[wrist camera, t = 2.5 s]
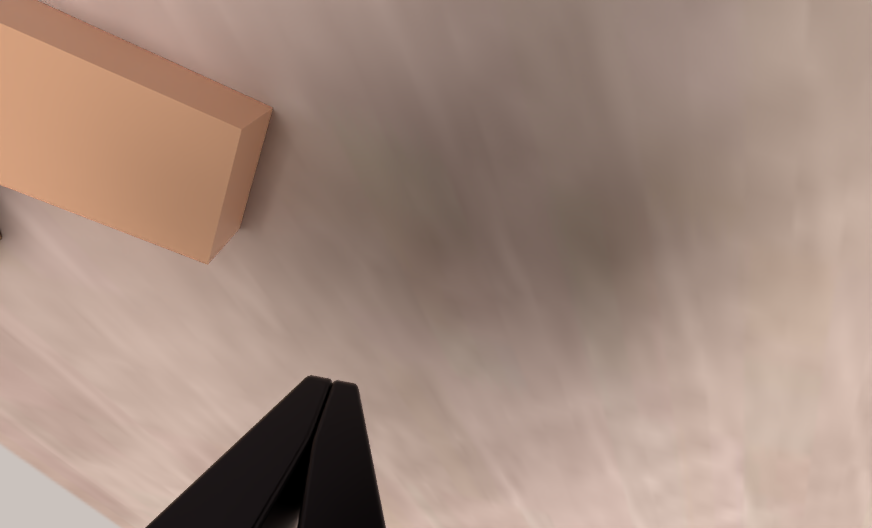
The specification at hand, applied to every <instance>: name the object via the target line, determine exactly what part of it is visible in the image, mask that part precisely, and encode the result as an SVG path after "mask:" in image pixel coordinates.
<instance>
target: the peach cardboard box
mask: <svg viewBox="0 0 872 528" xmlns="http://www.w3.org/2000/svg"><path fill="white" fill-rule="evenodd" d="M272 110H273V108H272V107H270V106H268V105H266V104H264V103H261V102H259V101H257V100H255V99H253V98H250V97H248V96H246V95H244V94H242V93H239V92H237V91H235V90H233V89H231V88H228V87H226V86H224V85H222V84H220V83H217V82H215V81H213V80H211V79H209V78H206V77H204V76H202V75H200V74H198V73H195V72H193V71H191V70H189V69H187V68H185V67H182V66H180V65H178V64H176V63H174V62H171V61H169V60H167V59H165V58H163V57H160V56H158V55H156V54H154V53H152V52H149V51H147V50H145V49H143V48H141V47H138V46H136V45H134V44H132V43H130V42H127V41H125V40H123V39H121V38H119V37H116V36H114V35H112V34H110V33H108V32H105V31H103V30H101V29H99V28H97V27H94V26H92V25H90V24H88V23H86V22H83V21H81V20H79V19H77V18H75V17H72V16H70V15H68V14H66V13H64V12H61V11H59V10H57V9H55V8H53V7H50V6H48V5H46V4H44V3H42V2H39V1H37V0H0V185H2V186H5V187H7V188H10V189H12V190H15V191H18V192H20V193H23V194H25V195H28V196H31V197H33V198H36V199H38V200H41V201H44V202H46V203H49V204H51V205H54V206H57V207H59V208H62V209H64V210H67V211H70V212H72V213H75V214H77V215H80V216H83V217H85V218H88V219H90V220H93V221H96V222H98V223H101V224H103V225H106V226H109V227H111V228H114V229H116V230H119V231H122V232H124V233H127V234H129V235H132V236H135V237H137V238H140V239H142V240H145V241H148V242H150V243H153V244H155V245H158V246H161V247H163V248H166V249H168V250H171V251H174V252H176V253H179V254H181V255H184V256H187V257H189V258H192V259H194V260H197V261H199V262H202V263H205V264H207V265H208V264H209V263H210V262H211V260H212V259H213V258H214V257H215V256H216V255H217V254H218V253H219V251H220V250H221V249H222V248H223V247H224V246H225V245H226V244H227V242H228V241H229V240H230V239H231V238H232V237H233V236H234V234H235V233H236V232H237V231H238V230H239V229H240V225H241V222H242V218H243V214H244V211H245V207H246V204H247V200H248V196H249V193H250V189H251V186H252V182H253V178H254V175H255V171H256V168H257V164H258V160H259V157H260V153H261V150H262V146H263V142H264V139H265V135H266V132H267V128H268V124H269V121H270V117H271V114H272Z"/></svg>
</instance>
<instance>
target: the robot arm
mask: <svg viewBox="0 0 872 528" xmlns="http://www.w3.org/2000/svg"><path fill="white" fill-rule="evenodd" d="M146 528H386V526H385V521H384V516H383V511H382V505H381V500H380V495H379V490H378V485H377V480H376V475H375V470H374V465H373V460H372V455H371V449H370V444H369V439H368V434H367V429H366V424H365V419H364V414H363V409H362V404H361V399H360V393H359V389H358V386H357V385H356V384H354V383H349V382H344V381H339V380H336V381H334V382H333V383H332V381H331V380H330V379H328V378H323V377H318V376H312V375H310V376H308V377H306V378H305V379H304V380H303V381H302V382H301V383H299V384H298V385H297V386H296V387H295V388H294V389H293V390H292V391H291V392H290V393H289V394H288V395H287V396H286V397H284V398H283V399H282V400H281V401H280V402H279V403H278V404H277V405H276V406H275V407H274V408H273V409H272V410H271V411H270V412H268V413H267V414H266V415H265V416H264V417H263V418H262V419H261V420H260V421H259V422H258V423H257V424H256V425H255V426H253V427H252V428H251V429H250V430H249V431H248V432H247V433H246V434H245V435H244V436H243V437H242V438H241V439H240V440H239V441H237V442H236V443H235V444H234V445H233V446H232V447H231V448H230V449H229V450H228V451H227V452H226V453H225V454H224V455H222V456H221V457H220V458H219V459H218V460H217V461H216V462H215V463H214V464H213V465H212V466H211V467H210V468H209V469H208V470H206V471H205V472H204V473H203V474H202V475H201V476H200V477H199V478H198V479H197V480H196V481H195V482H194V483H193V484H191V485H190V486H189V487H188V488H187V489H186V490H185V491H184V492H183V493H182V494H181V495H180V496H179V497H178V498H177V499H175V500H174V501H173V502H172V503H171V504H170V505H169V506H168V507H167V508H166V509H165V510H164V511H163V512H162V513H160V514H159V515H158V516H157V517H156V518H155V519H154V520H153V521H152V522H151V523H150V524H149V525H148V526H147V527H146Z"/></svg>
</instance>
